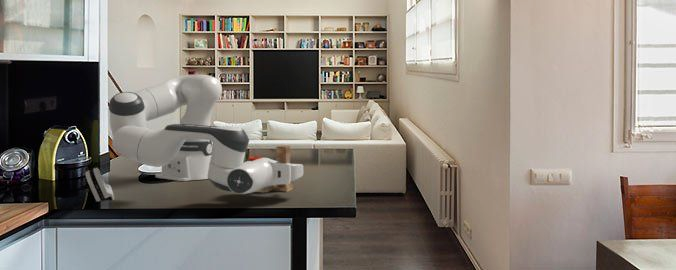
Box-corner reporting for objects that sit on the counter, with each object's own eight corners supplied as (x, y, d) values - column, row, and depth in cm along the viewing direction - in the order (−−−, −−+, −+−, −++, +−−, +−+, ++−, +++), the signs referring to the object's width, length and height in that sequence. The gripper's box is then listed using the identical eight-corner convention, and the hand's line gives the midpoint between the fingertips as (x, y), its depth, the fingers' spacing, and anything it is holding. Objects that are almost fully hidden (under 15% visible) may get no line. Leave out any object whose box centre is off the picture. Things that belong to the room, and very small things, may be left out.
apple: (244, 174, 201) (244, 156, 200) (256, 172, 206) (256, 154, 205) (254, 176, 197) (253, 157, 196) (266, 174, 201) (266, 156, 200)
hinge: (114, 200, 157) (101, 170, 155) (98, 206, 155) (85, 176, 153) (112, 189, 172) (99, 162, 169) (97, 195, 170) (85, 168, 168)
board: (239, 190, 172) (239, 184, 172) (267, 178, 193) (267, 173, 193) (266, 192, 169) (266, 186, 169) (291, 180, 190) (291, 175, 190)
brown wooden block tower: (268, 190, 173) (268, 146, 171) (274, 187, 178) (274, 144, 176) (287, 191, 171) (287, 147, 169) (292, 188, 176) (292, 145, 174)
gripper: (233, 180, 161) (253, 173, 174) (293, 184, 155) (309, 176, 168) (233, 160, 160) (253, 154, 173) (293, 164, 154) (309, 158, 167)
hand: (281, 165), depth 171 cm, fingers open, 8 cm apart
